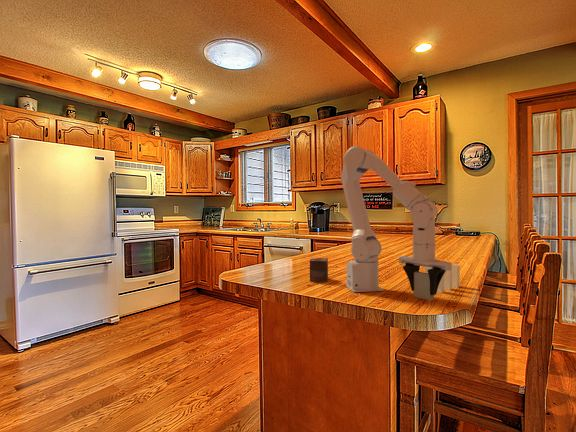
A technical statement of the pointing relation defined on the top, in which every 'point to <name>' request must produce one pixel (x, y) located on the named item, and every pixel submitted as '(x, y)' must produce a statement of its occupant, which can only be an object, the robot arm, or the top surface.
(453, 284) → the domino
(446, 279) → the domino
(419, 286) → the domino
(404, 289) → the top surface
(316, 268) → the box
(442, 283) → the domino
